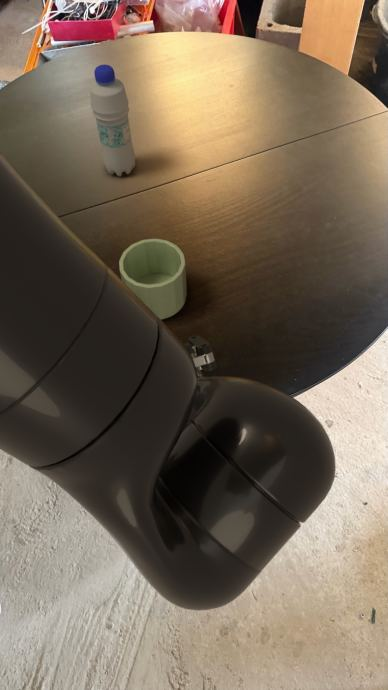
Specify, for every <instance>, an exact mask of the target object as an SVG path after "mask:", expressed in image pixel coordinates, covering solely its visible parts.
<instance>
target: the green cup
mask: <svg viewBox="0 0 388 690" xmlns="http://www.w3.org/2000/svg"><path fill="white" fill-rule="evenodd" d="M118 265H119V274H120V279H121V280H122V281H123V282H124V283H125V284H126V285H127V286H128V287H129V288H130V289H131V290H132V291H133V292H134V293H135V294H136V295H137V296H138V297H139V298H140V299H141V300H142V301H143V302H144V303H145V304H146V305H147V306H148V307H149V308H150V309H151V310H152V312H154V313H155V314H156V315H157V316H158V317H159V318H160V319H161V320H164V319H168V318H171V317H173V316H174V315H175V314H177V313H178V312H180V311H181V310H182V309H183V307H184V305H185V303H186V301H187V294H188V293H187V291H188V290H187V271H186V260H185V254H184V253H183V251H182V250H181V249H180V248H179V246H178V245H176V244H175V243H173V242H171V241H170V240H166V239H160V238H149V239H148V238H147V239H142V240H139V241H137V242H135V243H132V244H130V245H129V246H128V247H127V248H126V249H125V250H124V251H123V252H122V254H121V256H120V258H119V261H118Z"/></svg>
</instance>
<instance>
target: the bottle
mask: <svg viewBox="0 0 388 690" xmlns="http://www.w3.org/2000/svg"><path fill="white" fill-rule="evenodd" d="M89 95H90V108H91V110H92V115H93V117H94V118H95V121H96V126H97V131H98V135H99V137H98V138H99V142H100V147H101V154H102V161H103V164H104V167H105V169H106V170H107V173H109V174H110V175H114V174H116V176H117V177H121V176H122V175H123V173H125V174H126V175H128V174H129V175H130V173H131V172H132V170H133V169H135V166H136V155H135V150H134V149H135V148H134V145H133V141H132V134H131V133H132V132H131V126H130V118H129V112H130V107H129V99H128V96H127V92H126V88H125V84H124V82H122V81H121V80H120V79H118V78H116V74H115V70H114V68H113V67H112V65H110V64H100V65H98V66H96V67H95V69H94V81H93V82H92V83H91V84H90V86H89Z"/></svg>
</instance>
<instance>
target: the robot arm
mask: <svg viewBox="0 0 388 690" xmlns="http://www.w3.org/2000/svg"><path fill="white" fill-rule="evenodd" d="M187 340H188V342H185V343H183V340H181V339H180V338H179V337H178V335H177V334H176V333H175V332H174V331H173V330H172V329H171V328H170V327H169V326H168V325H167V324H166V323H165V322H164V321H163V319H160V318H159V317H158V316H157V315H156V314H155V313H154V312H152V310H151V309H150V308H149V307H148V306H147V305H146V304H145V303H144V302H143V301H142V300H141V299H140V298H139V297H138V296H137V295H136V294H135V293H134V292H133V291H132V290H131V289H130V288H129V287H128V286H127V285H126V284H125V283H124V282H123V281H122V279H121V277H119V276H118V275H117V274H116V272H114V271H113V270H112V269H111V268H110V267H109V266H108V265H107V264H106V263H105V262H104V261H103V260H102V259H101V258H100V257H99V256H98V255H97V254H96V253H95V252H94V251H93V250H92V249H91V248H90V247H89V246H88V245H87V244H86V243H85V242H84V241H83V240H82V239H81V238H80V237H79V236H78V234H76V233H75V232H74V231H72V229H70V227H69V226H68V225H66V223H65V222H64V221H63V220H62V219H61V218H60V217H59V216H58V215H57V214H56V213H55V212H54V211H53V210H52V209H51V207H50V206H48V204H47V203H46V202H45V201H44V200H43V199H42V197H40V196H39V195H38V194H37V192H35V190H34V189H33V188H32V187H31V186H30V185H29V184H28V183H27V182H26V181H25V180H24V179H23V178H22V177H21V176H20V174H19V173H18V172H17V171H16V170H15V168H14V167H12V165H11V164H10V163H9V162H8V161H7V159H6V158H5V157H4V156H3V155H2V154H1V153H0V450H1V451H2V452H4V453H6V454H8V455H9V456H11V457H12V458H14V459H16V460H18V461H19V462H21V463H23V464H24V465H27V466H28V467H30V468H31V469H33V470H34V471H36V472H38V473H40V474H41V475H44V477H46V478H47V479H49V480H51V481H52V482H53V483H55V484H56V485H57V486H58V487H59V488H61V489H62V490H63V491H64V492H65V493H67V494H68V495H69V496H70V497H71V498H72V499H73V500H75V502H77V503H78V504H79V505H80V506H81V507H82V508H83V509H84V510H85V511H86V512H88V514H89V515H90V516H92V518H94V520H95V521H96V522H97V523H98V524H99V525H100V526H101V527H102V528H103V529H104V530H105V531H106V532H107V534H108V535H110V537H111V538H112V539H113V540H114V542H116V544H117V545H118V546H119V548H121V550H122V551H123V553H124V554H125V555H126V556H127V558H128V560H130V562H131V563H132V564H133V566H134V568H136V570H137V571H138V572H139V573H140V574H141V576H142V577H143V578H144V580H145V581H146V582H147V583H148V584H149V585H150V586H151V588H152V589H153V590H155V591H156V592H157V593H158V594H159V596H161V597H162V598H163V599H165V601H168V602H169V603H171V604H172V605H174V606H176V607H178V608H181V609H184V610H190V611H209V610H215V609H218V608H222V607H225V606H227V605H228V604H230V603H232V602H233V601H235V600H236V599H237V598H239V596H241V595H242V594H243V593H245V591H246V590H247V589H248V588H249V587H250V586H251V584H252V583H253V582H254V581H255V580H256V579H257V577H258V576H260V575H261V573H262V572H263V570H264V569H265V568H266V567H267V565H268V564H269V563H270V562H272V560H273V559H274V558H275V557H276V555H278V553H279V552H280V551H281V550H282V548H284V546H285V545H286V544H287V543H288V542H289V541H290V539H291V538H292V537H293V536H294V535H295V534H296V533H297V532H298V531H299V530H300V528H301V527H302V524H305V523H306V522H307V521H308V520H309V518H310V517H311V516H312V515H313V514H314V513H315V511H316V510H317V509H318V508H319V507H320V506H321V504H322V503H323V502H324V501H325V499H326V497H327V496H328V495H329V493H330V491H331V489H332V488H333V485H334V482H335V479H336V478H335V477H336V468H337V467H336V456H335V451H334V448H333V444H332V441H331V439H330V437H329V435H328V433H327V431H326V429H325V427H324V426H323V424H322V423H321V422H320V420H319V419H318V418H317V417H316V416H315V415H314V413H313V412H311V410H309V408H307V407H306V406H305V405H304V404H303V403H301V402H300V401H299V400H297V399H296V398H294V397H293V396H292V395H290V394H288V393H286V392H285V391H283V390H281V389H278V388H276V387H274V386H272V385H270V384H267V383H264V382H262V381H258V380H256V379H251V378H248V377H241V376H234V375H233V376H231V375H215V376H205V375H204V373H203V372H201V371H202V370H204V371H205V372H213V371H215V369H217V368H218V366H217V365H218V364H217V361H216V359H215V356H214V352H213V349H212V346H211V343H210V342H209V341H207V340H206V339H205V338H203V337H202V336H200V335H195V334H194V335H191V336H190V337H189V338H188V339H187Z"/></svg>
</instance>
